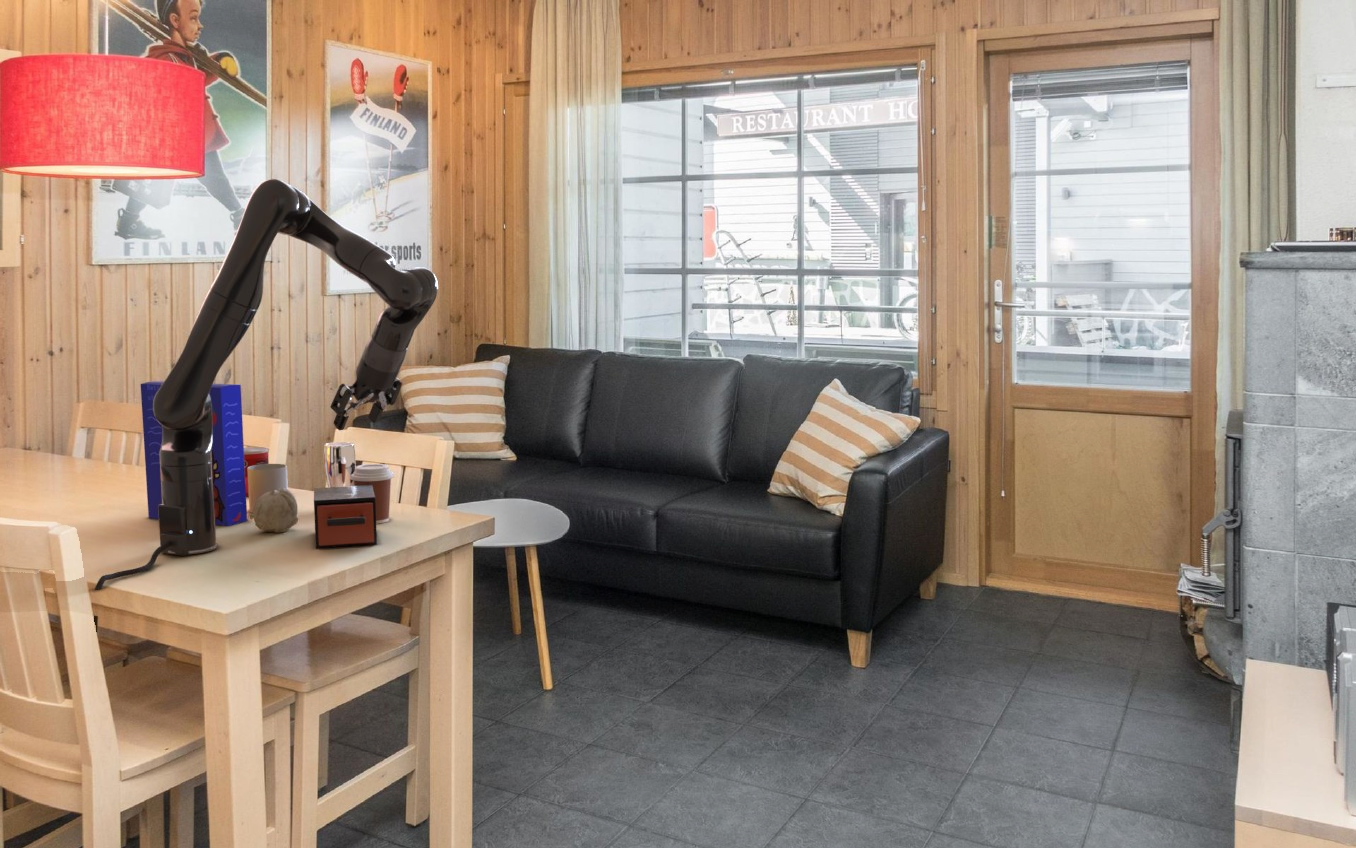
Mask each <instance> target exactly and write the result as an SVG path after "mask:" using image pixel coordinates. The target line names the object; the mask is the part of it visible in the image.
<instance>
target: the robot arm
mask: <svg viewBox="0 0 1356 848" xmlns="http://www.w3.org/2000/svg"><path fill="white" fill-rule="evenodd" d="M278 234H280V235H284V236H288V237H292V238H294V239H297V240H299V241H301V242H305V243H307V244H309V245H311V246H313V247H315V248H317V249H319V250H320V251H321V252H323V253H324V254H325V255H326V256H328V257H329V258H330V259H331V260H332V261H334V263H336V264H337V265H338V266H339V267H341V268H343V269H344V270H345V271H347V272H349V274H351V275H353V276H355V277H356V278H357V279H359V280H361V281H363V282H364V283H366V284H368V286H369V287H370V288H371V290H373V292H374V293H375V294H376V295H377V296H378V297H379V298H380V299H381V301H383V302H384V303H385V304H386V305H388V307H387V308H385V309H384V310H382V311H381V313H380V314H379V315H378V318H377V320H376V323H375V324H374V328H373V330H372V332H371V334H370V337H369V338H368V340H367V342H366V343H365V347H364V348H363V352H362V354H361V357H360V359H359V361H358V363H357V366H356V369H355V376H356V377H355V378H356V379H355V381H354V382H353V383H352V385H346V384H345V383H341V384H340V385H339V386H338V389H337V390H336V393H335V395H334V396H333V397H334V398H333V400H332V401H331V402H332V403H331V404H330V409H331V410H332V411H333V412H334V413H335V417H334V420H333V425H334V427H335V428H336V429H337V430H338V431H344V430H345V427H346V424H347V422H348V420H349V417H350V416H349V415H351V414H352V412H353V411H355V410H359V409H360V408H361V407H362V406H363V405H366V404H368V403H370V404H372V406H371V408H370V411H369V413H368V419H369V420H370V421H371V422H372V423H373V424H377V423H379V420H380V419H381V417H382V414H383V412H384V411H385V409H387V407H388V406H389V405H390V406H394V405H395V404H396V401H397V399H398V396H399V394H400V390H401V388H402V387H403V386H402V385H403V382H402V381H401V380H400V379H399V378H398V375H399V373H400V370H401V368H402V366H403V363H404V360H405V358H406V355H407V351H408V348H409V345H410V343H411V341H412V339H413V335H414V333H415V331H416V330H417V327H418V326H419V325H420V324H421V322H422V321H423V320H424V318H425V316H426V315H427V314H428V312H429V311H430V309H431V308H432V306H433V305H434V303H435V301H436V299H437V296H438V292H439V284H438V283H439V282H438V279H437V276H436V275H435V273H434V272H433V271H432V270H431V269H429V268H426V267H424V266H418V267H413V268H409V269H404V270H399V269H397V268H396V260H395V258H394V256H393V255H392V254H391V253H390V252H389V251H387V250H386V249H384V248H382V247H381V246H380V245H378V244H376V243H375V242H373V241H371V240H370V239H367V238H366V237H364V236H363V235H361V234H359V233H357V232H355V231H353V230H351V229H349V228H348V227H346V226H344V225H342V224H341V223H339V222H338V221H336V220H335V219H333V218H332V217H331V216H329V215H328V214H327V213H326V212H325V211H323V209H321V207H319V206H318V205H317V204H316V203H315V202H314V201H313V200H312V199H311V198H309V197H308V196H307V194H305V193H304V192H303V191H301V190H300V189H298V188H297V187H295V186H293V185H291V184H288V183H287V182H285V181H283V180H281V179H277V178H270V179H266V180H263V181H261V182H260V183H259V184H258V185H257V186H256V188H254V190H253V192H252V193H251V195H250V197H249V199H248V202H247V204H246V207H245V209H244V211H243V214H242V217H241V220H240V223H239V225H238V228H237V231H236V233H235V236H234V239H233V241H232V244H231V245H230V248H229V250H228V252H227V254H226V255H225V258H224V260H223V261H222V264H221V267H220V269H219V272H218V273H217V275H216V277H215V279H214V281H213V282H212V284H211V286H210V289H209V290H208V292H207V294H206V296H205V298H204V299H203V302H202V304H201V306H200V308H199V311H198V313H197V315H196V318H195V320H194V322H193V324H192V327H191V329H190V331H189V334H188V336H187V339H186V342H185V344H184V346H183V349H182V351H181V352H180V355H179V357H178V359H177V361H176V363H175V364H174V366H173V367H172V369H171V370H170V372H169V373H168V375H167V376H166V378H165V379H164V380H163V381H164V382H163V384H162V385H161V387H160V388H159V390H158V391H157V393H156V395H155V397H154V400H153V412H154V415H155V418H156V419H157V421H158V422H159V423H160V424H161V425H162V433H163V436H162V444H161V448H160V453H159V456H160V472H161V490H162V504H159V505H158V514H159V519H158V527H159V529H158V530H159V531H158V532H159V545H160V546H159V547H157V548H156V549H155V550H154V551H153V553H152V555H151V557H150V559H149V561H148V562H147V563H146V564H144V565H141V566H138V567H136V568H130V569H125V570H121V571H116V572H113V573H108V574H103V575H101V577H100V578H99V579H98V581H97V582H96V584H95V587H94V591H100V590H102V589H103V586H104V584H105V582H106V581H111V580H115V579H118V578H123V577H127V576H133V575H137V574H140V573H143V572H146V571H148V570H150V569H151V568H152V567H153V566H154V565H155V564H156V561H157V559H158V557H159V555H160V554H167V555H171V556H172V555H174V556H179V557H186V556H189V555H198V554H205V553H208V552H211V551H214V550H216V549H217V548H218V543H217V532H216V531H217V530H216V529H217V528H216V525H215V510H214V491H213V472H212V447H213V416H212V402H211V397H210V394H209V392H210V389H211V387H212V384H214V382H215V380H216V378H217V375H218V373H219V372H220V370H221V369H222V367H223V365H224V363H225V362H226V361H227V360H228V358H229V357H230V356H231V354H232V353H233V352H234V351H235V349H236V348H237V346H238V345H239V344H240V342H241V341H242V339H243V338H244V336H245V334H246V333H247V331H248V329H249V328H250V326H251V324H252V322H253V320H254V318H255V316H256V314H257V312H258V310H259V308H260V306H261V303H262V300H263V294H264V281H265V279H264V278H265V277H264V276H265V264H266V259H267V256H268V252H269V250H270V248H271V246H272V245H273V242H274V240H275V239H276V236H277V235H278ZM352 398H354V399H355V400H356V402H354V401H353V399H352ZM347 405H349V407H348V408H346V407H347ZM93 615H94V614H93ZM94 622H95V625H96V632H97V633H98V624H99V616H98V615H94Z"/></svg>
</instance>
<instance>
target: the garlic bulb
mask: <svg viewBox="0 0 1356 848" xmlns="http://www.w3.org/2000/svg"><path fill="white" fill-rule="evenodd" d="M247 517H248V518H249V519H250V520H253V522H254V523H255V527H257V529H258V530H260V531H261V532H262V533H275V534H277V533H285V532H287V531H288V530H289V529H291V528H292V527H294V526H296V524H298V522H299V517H298V502H297V499H296V497H295V496H294V494H293V493H292V492H291V490H289V488H288V489H285V488H281V489H279V490H273V491H271V492H267V493H265V494H263V495H262V496H260V497H259V498H258V499H257V500H256V502H255V505H254V507H253V513H248V514H247Z"/></svg>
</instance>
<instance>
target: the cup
mask: <svg viewBox="0 0 1356 848" xmlns="http://www.w3.org/2000/svg"><path fill="white" fill-rule="evenodd" d="M247 470H248V490H249V496H248V507H249V509H248V510H249V512H250V514H253V507H254V505H255V502H256V500H257V499H258V498H259V497H260V496H262V495H263V494H265V493H267V492H271V491H273V490H279V489H281V488H285V489H288V490H289V483H288V481H289V480H288V465H286V464H285V463H284V464H283V463H269V464H260V465H253V466H250V467H248V468H247Z"/></svg>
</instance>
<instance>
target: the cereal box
mask: <svg viewBox="0 0 1356 848" xmlns="http://www.w3.org/2000/svg"><path fill="white" fill-rule="evenodd" d="M164 381H165V380H163V381H162V380H160V381H159V380H157V381H146V382H143V383H140V398H141V399H140V400H141V413H142V414H141V415H142V431H143V448H144V464H145V465H144V466H145V479H146V481H145V482H146V497H147V513H148V514H147V515H148V519H150V520H151V519H152V520H159V514H158V505H159V504H162V490H161V472H160V456H159V453H160V448H161V444H162V436H163V433H162V425H161V424H160V423H159V422H158V421H157V419H156V418H155V415H154V412H153V400H154V397H155V395H156V393H157V391H158V390H159V388H160V387H161V385H162V384H163V382H164ZM209 394H210V397H211V402H212V416H213V447H212V472H213V491H214V510H215V526H223V527H229V526H233V525H236V524H239V523H243V522H246V521H248V508H247V507H248V506H247V496H246V483H245V463H244V448H245V445H244V423H243V405H242V402H243V401H242V385H241V384H235V383H234V384H233V383H213V384H212V387H211V389H210V392H209Z"/></svg>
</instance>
